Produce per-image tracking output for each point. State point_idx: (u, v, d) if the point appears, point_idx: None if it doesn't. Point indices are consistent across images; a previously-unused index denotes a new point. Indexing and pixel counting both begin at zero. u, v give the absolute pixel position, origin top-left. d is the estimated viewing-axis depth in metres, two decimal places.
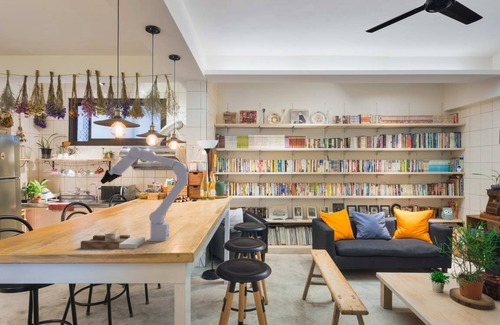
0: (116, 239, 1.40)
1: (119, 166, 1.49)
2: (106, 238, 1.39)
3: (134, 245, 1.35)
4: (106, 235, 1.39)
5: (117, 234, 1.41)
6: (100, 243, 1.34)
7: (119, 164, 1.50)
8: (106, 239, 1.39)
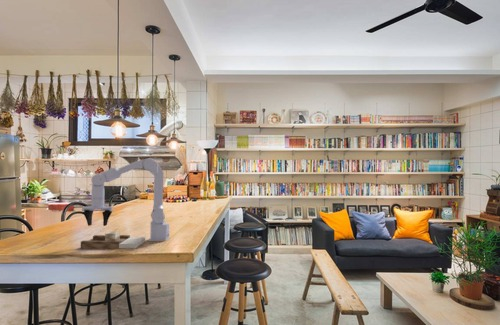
0: (116, 239, 1.40)
1: (103, 201, 1.41)
2: (106, 238, 1.39)
3: (134, 245, 1.35)
4: (106, 235, 1.39)
5: (117, 234, 1.41)
6: (100, 243, 1.34)
7: (102, 199, 1.40)
8: (106, 239, 1.39)
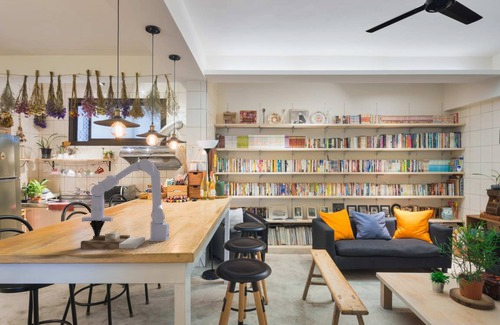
0: (116, 239, 1.40)
1: (103, 211, 1.41)
2: (106, 238, 1.39)
3: (134, 245, 1.35)
4: (106, 235, 1.39)
5: (117, 234, 1.41)
6: (100, 243, 1.34)
7: (102, 210, 1.40)
8: (106, 239, 1.39)
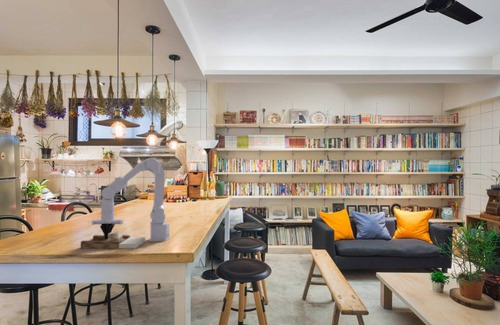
0: (119, 239, 1.40)
1: (113, 214, 1.41)
2: (109, 238, 1.39)
3: (134, 245, 1.35)
4: (109, 235, 1.39)
5: (120, 234, 1.41)
6: (100, 243, 1.34)
7: (112, 213, 1.40)
8: (109, 239, 1.39)
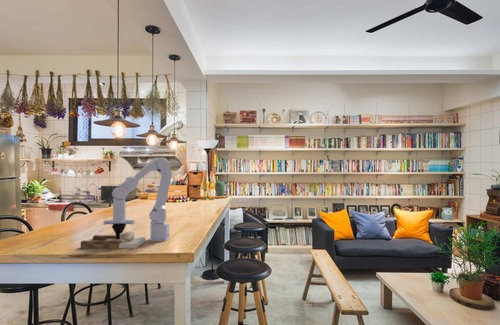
0: (131, 239, 1.40)
1: (124, 214, 1.41)
2: (121, 238, 1.39)
3: (134, 245, 1.35)
4: (121, 235, 1.39)
5: (132, 234, 1.41)
6: (100, 243, 1.34)
7: (123, 213, 1.40)
8: (121, 239, 1.39)
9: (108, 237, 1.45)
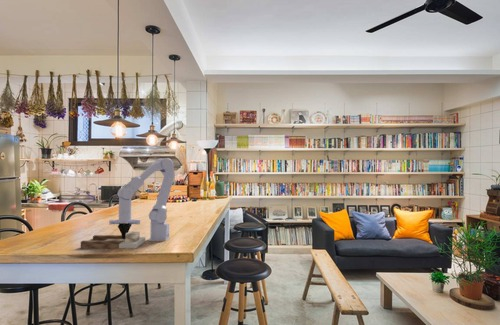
0: (136, 239, 1.40)
1: (130, 214, 1.41)
2: (126, 238, 1.39)
3: (134, 245, 1.35)
4: (126, 235, 1.39)
5: (137, 234, 1.41)
6: (100, 243, 1.34)
7: (129, 213, 1.41)
8: (126, 239, 1.39)
9: (108, 237, 1.45)
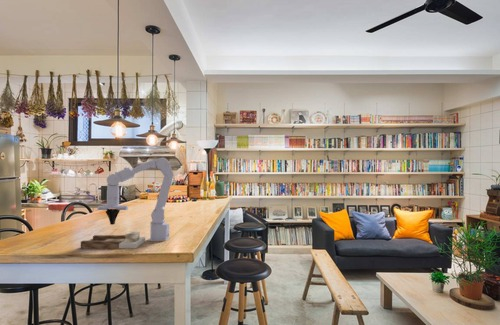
0: (136, 239, 1.40)
1: (118, 200, 1.45)
2: (126, 238, 1.39)
3: (134, 245, 1.35)
4: (126, 235, 1.39)
5: (137, 234, 1.41)
6: (100, 243, 1.34)
7: (117, 199, 1.44)
8: (126, 239, 1.39)
9: (108, 237, 1.45)
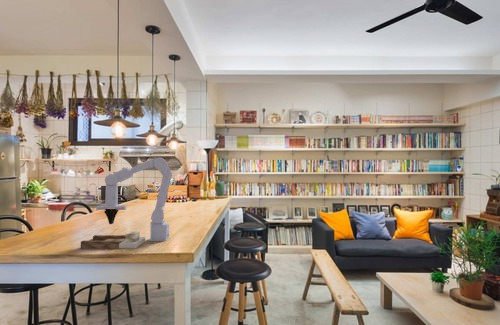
0: (136, 239, 1.40)
1: (117, 200, 1.46)
2: (126, 238, 1.39)
3: (134, 245, 1.35)
4: (126, 235, 1.39)
5: (137, 234, 1.41)
6: (100, 243, 1.34)
7: (115, 199, 1.45)
8: (126, 239, 1.39)
9: (108, 237, 1.45)
